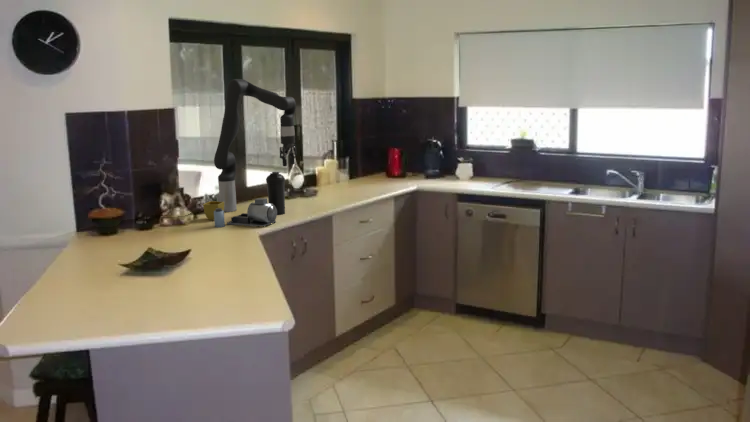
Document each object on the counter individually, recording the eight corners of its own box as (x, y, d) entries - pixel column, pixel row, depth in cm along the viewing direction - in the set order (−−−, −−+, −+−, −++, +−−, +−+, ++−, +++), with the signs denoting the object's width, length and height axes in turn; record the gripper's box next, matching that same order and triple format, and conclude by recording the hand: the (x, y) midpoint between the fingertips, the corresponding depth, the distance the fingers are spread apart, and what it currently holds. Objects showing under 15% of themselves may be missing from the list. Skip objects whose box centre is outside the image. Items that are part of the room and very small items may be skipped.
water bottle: (288, 211, 392) (286, 171, 387) (284, 215, 382) (282, 173, 377) (270, 211, 393) (268, 171, 388) (265, 215, 383) (263, 173, 378)
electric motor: (227, 224, 363) (225, 199, 360) (240, 219, 373) (238, 195, 371) (267, 227, 353) (266, 201, 351) (279, 222, 364) (278, 197, 361)
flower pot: (219, 221, 371) (217, 204, 369) (203, 220, 373) (202, 204, 371) (225, 217, 379) (224, 201, 378) (210, 217, 381) (209, 201, 379)
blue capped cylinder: (212, 227, 357) (211, 209, 355) (218, 225, 362) (217, 207, 360) (221, 227, 355) (219, 209, 353) (226, 225, 360) (225, 208, 358)
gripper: (287, 133, 380) (288, 163, 383) (274, 135, 367) (275, 166, 370) (300, 133, 377) (301, 163, 380) (287, 136, 364) (288, 167, 367)
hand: (288, 165), depth 375 cm, fingers open, 8 cm apart
